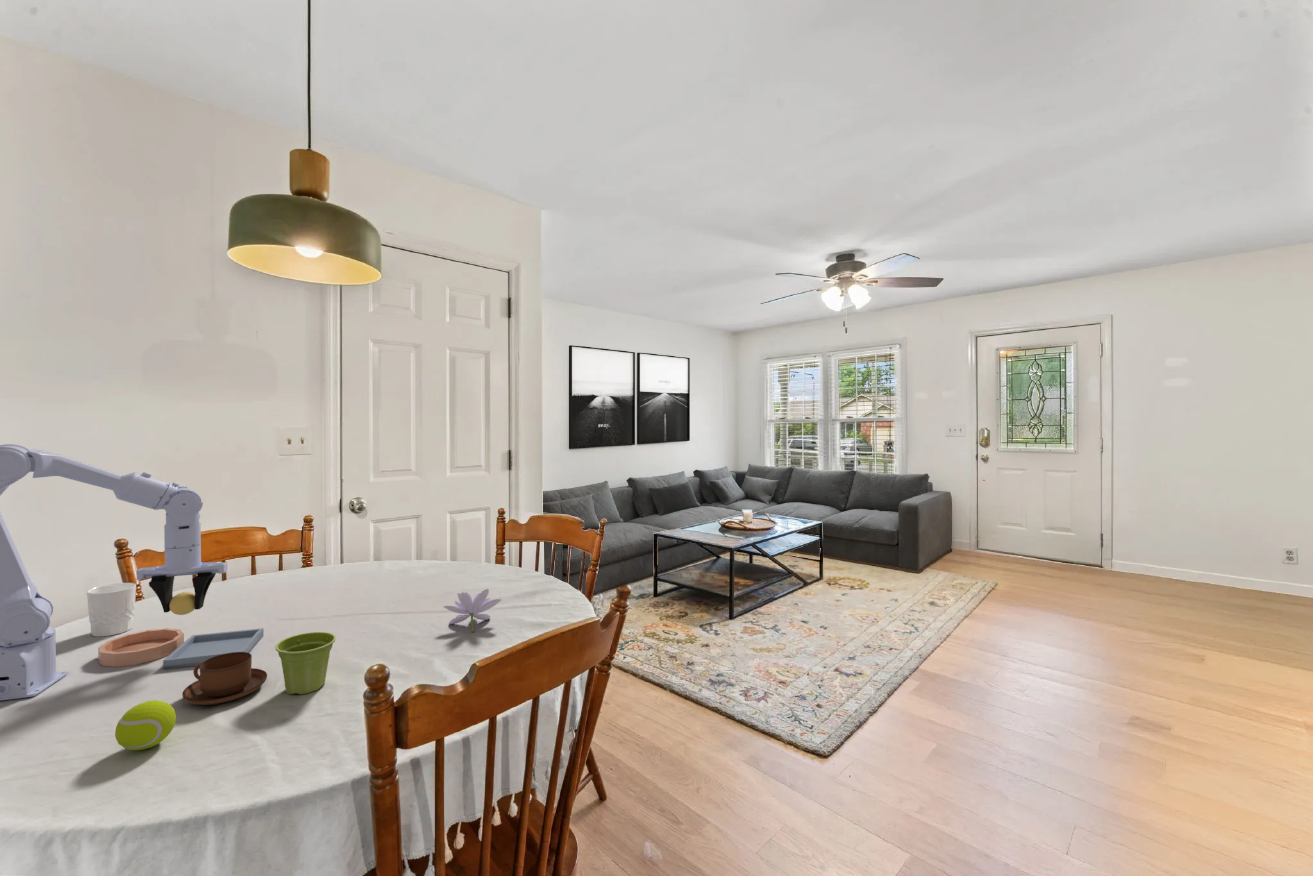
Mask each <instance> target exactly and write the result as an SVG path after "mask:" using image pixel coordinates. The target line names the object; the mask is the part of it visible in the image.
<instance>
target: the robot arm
mask: <svg viewBox="0 0 1313 876" xmlns="http://www.w3.org/2000/svg"><path fill="white" fill-rule="evenodd" d="M29 473H33V474H32V479H37V478H39V479H40V478H48V477H61V478H65V479H69V480H72V481H76V482H80V483H84V484H88V485H91V486H95V487H99V488H102V489H107V490H110V491H112V492H113V494H114V495H115V498H116V499H117V500H120V501H124V502H127V503H129V504H132V505H137V506H141V507H144V508H148V509H152V510H154V511H158V510H164V511H165V524H164V526H163V528H164V531H163V532H164V540H163V541H164V565H157V566H150V567H141V568H139V569H137V570H136V580H137V581H138V580H139V581H140V580H144V579H151V580H150V581H149V582H148V587H150V588H151V590H152V591H153V592H154V594H155V595H156V596H157V598H158V600H159V602H160V604H161V607H162V609H163V613H165V614H166V613H169V612H171V610H170V608H169V603H170V601H171V599H172V598H173V597H174V596H173V591H174V590H173V589H174V581H175V577H179V576H180V577H182V576H193V575H194V577H193V578H192V584H193V589H194V594H195V609H194V610H195V611H196V610H201V609H202V608H203V607H204V605H205V604H204V602H205V599H206V595H207V592H208V590H209V587H210V586H211V584H212V583H213V580H214V578H215V577H216V574H219V575H220V574H225V573H227V572H228V562H227V561H226V562H225V561H224V562H222V561H221V562H202V541H201V540H202V538H201V537H202V535H201V534H202V533H201V532H202V530H201V528H202V527H201V526H202V525H201V524H202V523H201V521H200V518H201V514H200V512H201V510H202V508H203V504H204V503H203V502H202V499H201V496H200V495H199V494H198V493H197V492H196V491H195V490H194V489H191V488H188V486H184V485H183V486H180V483H178V482H175V481H174V482H173V483H169V482H167V481H164V480H161V479H158V478H155V477H152V474H151V473H148V472H146V471H143V472H142V473H138V472H131V473H127V474H124V475H123V474H122V475H121V474H119V473H115V472H113V471H109V470H106V469H103V468H101V467H98V466H94V465H92V464H89V463H85V462H82V461H81V460H80V461H79V460H77V459H74V458H71V457H68V456H66V455H61V454H58V453H53V452H49V451H44V450H41V449H35V448H32V449H28V448H26V447H24V446H22V445H19V444H12V443H11V444H10V443H8V444H6V443H5V444H0V497H1V495H3V494H4V492H6V490H7V489H8V488H9V487H10V486H12V485H13V484H15V483H17V482H18V481H19V480H21V479H23V478H24V477H26V476H27V475H28V474H29ZM27 571H28V570H27V568H26V567H25V564H24V562H23V559H22V557H21V555H20V554H19V551H18V549H17V547H16V545H15V542H14V540H13V538H12V535H11V533H10V531H9V529H8V526H7V524H6V522H5V519H4V517H3V515H2V513H1V512H0V701H8V700H15V699H24V698H30V697H31V698H32V697H35V696H37V695H38V694H40V693H41V692H43V691H44V690H46V689H48V688H49V687H50V686H52V685H54V684H55V683H56V682H57V681H60V680H61V679H62V678H63V677H65V676H66V675H68V674H69V672H70V671H69V670H60V671H57V654H56V653H57V651H56V649H57V645H56V642H57V641H56V639H57V638H56V637H57V636H56V629H55V628H54V627H51V626H50V624H51V617H52V615H53V613H54V605H53V603H52V602H51V600H50V599H49V598H47V597H44V596H43V595H42V594H41V593H40V592H39V590H38V588H37V587H36V585H35V584H34V582H32V580H31V578H30V575H29V574H28V572H27ZM195 575H196V576H195Z"/></svg>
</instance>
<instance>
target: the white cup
mask: <svg viewBox="0 0 1313 876" xmlns="http://www.w3.org/2000/svg"><path fill="white" fill-rule="evenodd" d="M136 593H137V584H136V583H134V582H119V583H111V584H104V585H101V586H99V585H98V586H96V587H92V588H90V589H88V590H87V591H86V595H87V596H86V597H87V611H88V620H89V621H88V622H89V623H90V635H91V636H93V637H109V636H114V635H118V634H122V633H125V632H128V631H131V630H132V629H133V626H134V617H135V611H136V610H135V609H136V596H137V595H136Z"/></svg>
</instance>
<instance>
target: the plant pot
mask: <svg viewBox="0 0 1313 876" xmlns="http://www.w3.org/2000/svg"><path fill="white" fill-rule="evenodd" d="M336 638H337V637H336V635H335V634H334V633H332V632H327V631H312V632H311V631H310V632H304V633H299V634H296V635H295V634H294V635H292V636H288V637H286V638H284V639H282V640H280V641H279V642H277V643H276V645H275V646H274V648H275V651H276V652H278V654H277V655H278V657H279V658H280V663H281V667H282V674H283V681H284V687H285V692H286V693H287V694H289V695H293V694H299V695H306V694H309V693H313V692H315V691H317V690H319V689H321V687H322V686H325V683H326V678H327V672H328V666H329V661H330V660H329V659H330V653H331V650H332V648H333V644H334V643H335V641H336Z"/></svg>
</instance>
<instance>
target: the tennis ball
mask: <svg viewBox="0 0 1313 876" xmlns="http://www.w3.org/2000/svg"><path fill="white" fill-rule="evenodd" d="M176 720H177V714H176V710H175V709H174V707H172V705H171V704H169V703H168V702H166V701H163V700H157V699H156V700H155V699H154V700H148V701H147V700H146V701H143V702H141V703H138V704H137V705H134V706H133V707H131V708H130V709H128V710H127V711H126V712H125V713H124V714H123V715H122V716H121V718H120V719H119V720H118V722H117V724H116V727H115V733H114V735H115V740H116V742H117V743H118V745H119V746H120V747H122V748H124V749H125V750H127V751H143V750H144V751H145V750H147V749H149V748H152V747H155V746H156V745H158V744H159V743H161V742H162V741H164V740H165V739H166V738H168V736H170V734H171V732H172V730H174V727H175V724H176Z"/></svg>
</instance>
